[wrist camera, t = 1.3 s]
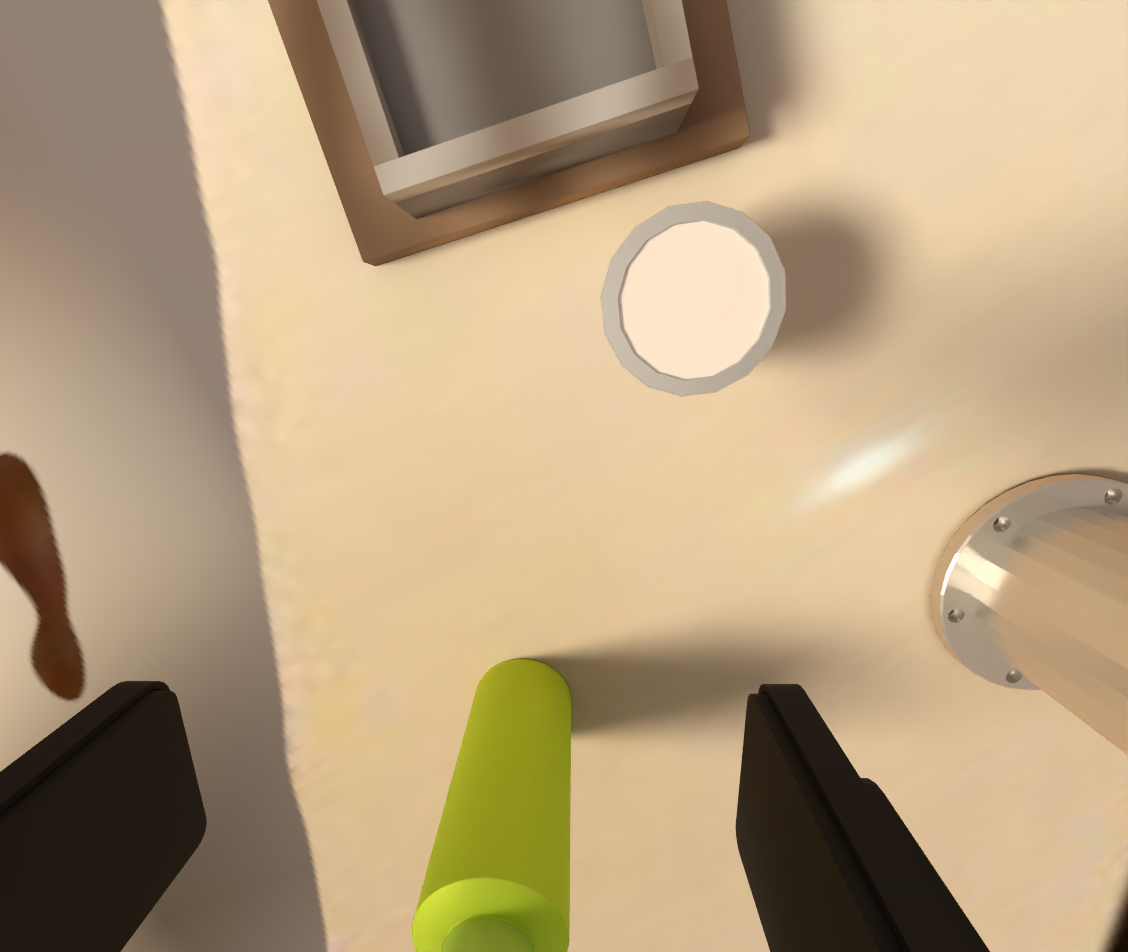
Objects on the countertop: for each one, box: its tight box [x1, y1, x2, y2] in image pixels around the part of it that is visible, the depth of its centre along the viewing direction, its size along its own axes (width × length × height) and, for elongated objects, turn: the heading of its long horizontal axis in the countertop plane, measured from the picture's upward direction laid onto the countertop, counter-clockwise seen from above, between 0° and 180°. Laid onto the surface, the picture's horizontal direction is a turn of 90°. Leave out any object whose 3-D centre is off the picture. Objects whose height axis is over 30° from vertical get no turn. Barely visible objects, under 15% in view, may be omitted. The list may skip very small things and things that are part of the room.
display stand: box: [268, 0, 750, 266], centre depth 20 cm, size 18×14×6 cm
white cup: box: [601, 201, 786, 396], centre depth 23 cm, size 7×7×7 cm
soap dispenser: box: [412, 659, 571, 952], centre depth 22 cm, size 6×7×20 cm
